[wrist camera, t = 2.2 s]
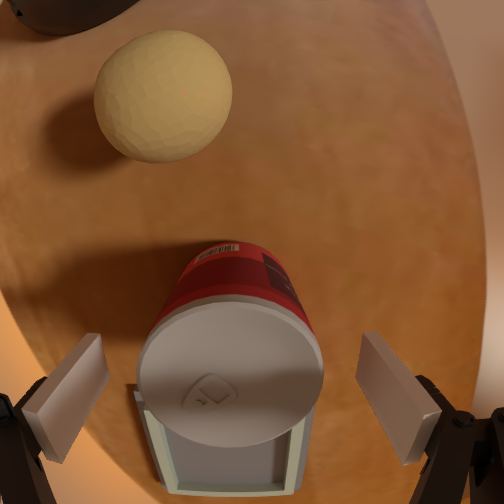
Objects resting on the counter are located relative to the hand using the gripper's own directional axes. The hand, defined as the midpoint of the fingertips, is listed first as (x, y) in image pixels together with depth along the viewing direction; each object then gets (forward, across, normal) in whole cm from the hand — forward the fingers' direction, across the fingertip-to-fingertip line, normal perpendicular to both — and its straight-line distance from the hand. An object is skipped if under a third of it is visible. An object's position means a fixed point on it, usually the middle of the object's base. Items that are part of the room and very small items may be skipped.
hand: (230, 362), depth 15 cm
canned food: (+8, 0, +1) cm, 9 cm away
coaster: (+8, -1, -15) cm, 18 cm away
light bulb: (+8, -3, +13) cm, 15 cm away
